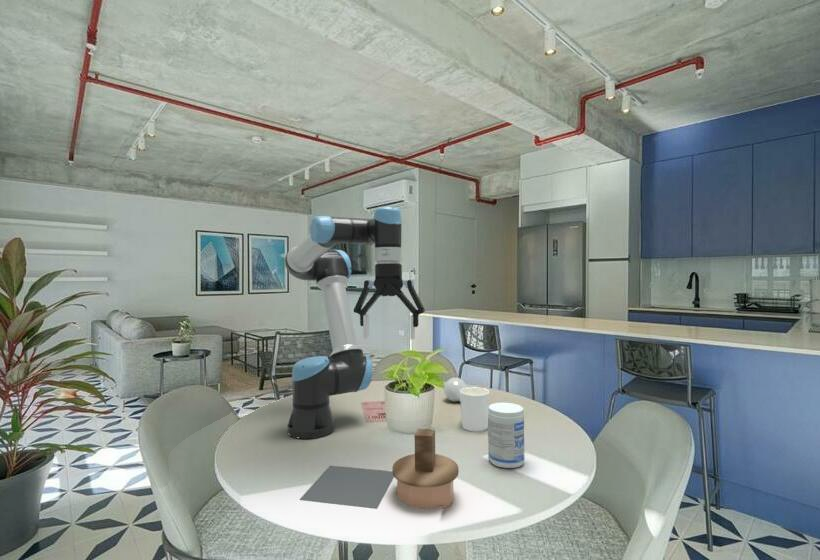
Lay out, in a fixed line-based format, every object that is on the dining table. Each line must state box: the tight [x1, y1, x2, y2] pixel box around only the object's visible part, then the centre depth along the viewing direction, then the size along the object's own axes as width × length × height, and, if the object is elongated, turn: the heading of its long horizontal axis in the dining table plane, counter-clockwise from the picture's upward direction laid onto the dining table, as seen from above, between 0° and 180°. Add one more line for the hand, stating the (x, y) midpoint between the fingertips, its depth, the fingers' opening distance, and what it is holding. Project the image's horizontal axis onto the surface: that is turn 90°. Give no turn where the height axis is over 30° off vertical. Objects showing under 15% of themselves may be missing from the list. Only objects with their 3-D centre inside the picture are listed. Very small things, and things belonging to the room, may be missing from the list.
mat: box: [299, 465, 395, 510], centre depth 100 cm, size 18×17×1 cm
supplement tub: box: [487, 402, 525, 469], centre depth 114 cm, size 10×10×15 cm
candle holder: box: [459, 386, 491, 433], centre depth 139 cm, size 10×10×12 cm
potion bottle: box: [443, 376, 483, 403], centre depth 167 cm, size 9×10×15 cm
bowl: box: [396, 479, 454, 510], centre depth 96 cm, size 12×12×6 cm
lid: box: [391, 428, 460, 487], centre depth 96 cm, size 15×15×9 cm
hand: (389, 338), depth 119 cm, fingers open, 13 cm apart
